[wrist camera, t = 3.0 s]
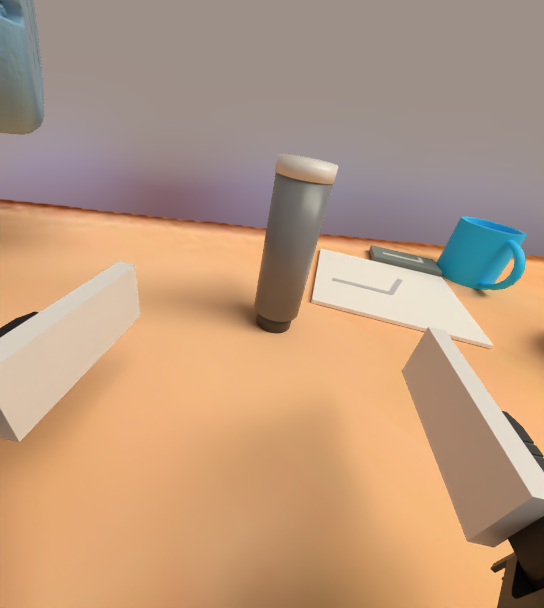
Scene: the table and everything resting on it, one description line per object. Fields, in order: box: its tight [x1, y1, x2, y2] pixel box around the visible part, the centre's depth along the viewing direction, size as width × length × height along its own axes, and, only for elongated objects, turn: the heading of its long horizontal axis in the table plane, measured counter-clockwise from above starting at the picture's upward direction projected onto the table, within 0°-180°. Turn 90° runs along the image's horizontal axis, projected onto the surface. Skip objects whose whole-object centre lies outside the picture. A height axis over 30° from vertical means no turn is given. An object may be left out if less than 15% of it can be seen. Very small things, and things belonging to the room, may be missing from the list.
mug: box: [436, 217, 527, 290], centre depth 39 cm, size 12×8×8 cm
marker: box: [254, 153, 338, 333], centre depth 21 cm, size 4×4×13 cm
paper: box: [311, 249, 494, 349], centre depth 34 cm, size 18×16×1 cm
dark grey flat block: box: [369, 245, 443, 277], centre depth 43 cm, size 10×5×1 cm, turn 78°
